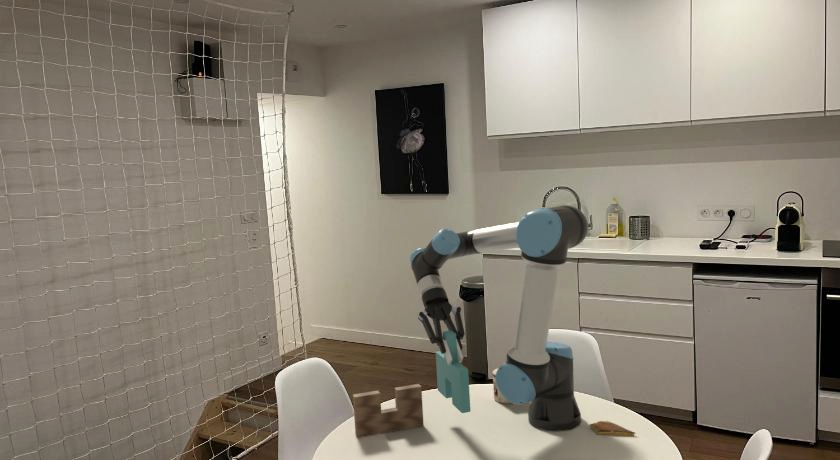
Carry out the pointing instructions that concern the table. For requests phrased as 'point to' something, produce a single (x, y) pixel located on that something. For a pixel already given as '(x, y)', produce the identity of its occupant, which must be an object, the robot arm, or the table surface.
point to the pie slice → (610, 429)
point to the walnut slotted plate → (388, 411)
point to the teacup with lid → (497, 392)
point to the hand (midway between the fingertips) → (455, 361)
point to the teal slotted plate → (453, 376)
